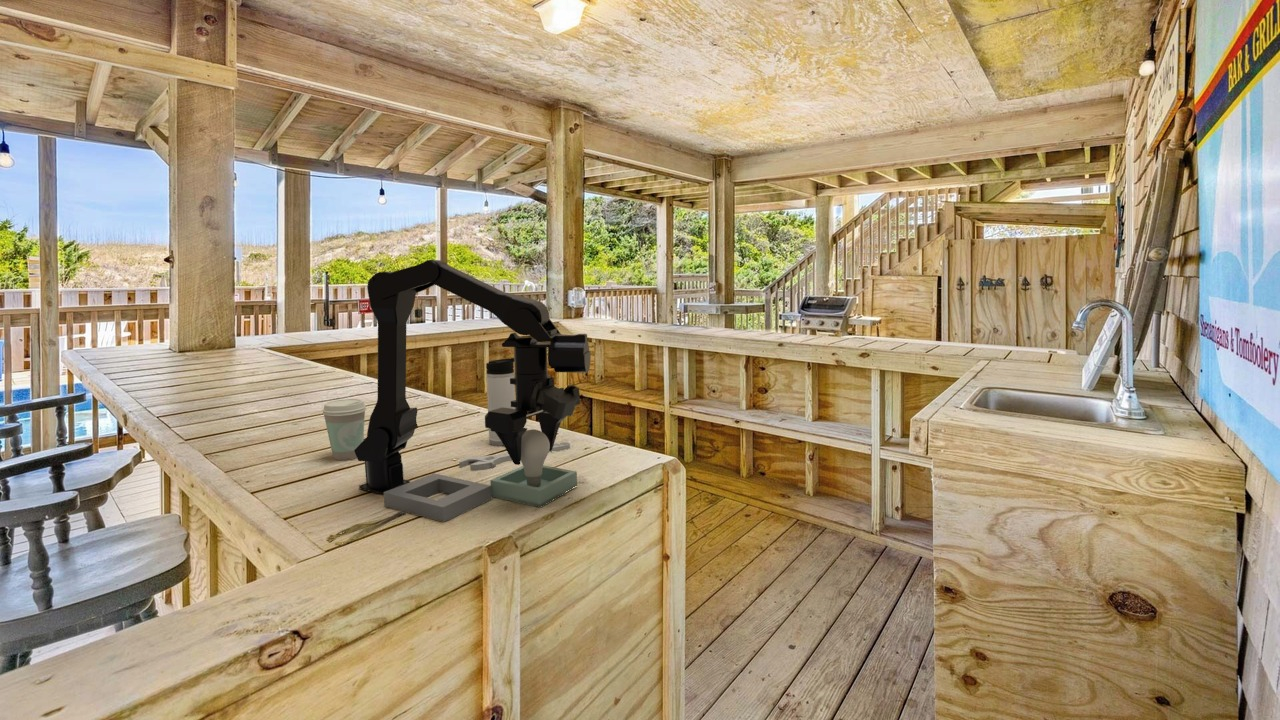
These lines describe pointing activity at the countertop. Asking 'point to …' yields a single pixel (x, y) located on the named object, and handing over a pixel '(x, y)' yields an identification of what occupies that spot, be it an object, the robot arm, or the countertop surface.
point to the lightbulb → (534, 455)
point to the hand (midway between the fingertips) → (533, 457)
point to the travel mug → (499, 389)
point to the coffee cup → (345, 426)
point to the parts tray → (518, 491)
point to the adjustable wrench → (498, 458)
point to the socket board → (443, 509)
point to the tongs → (364, 526)
